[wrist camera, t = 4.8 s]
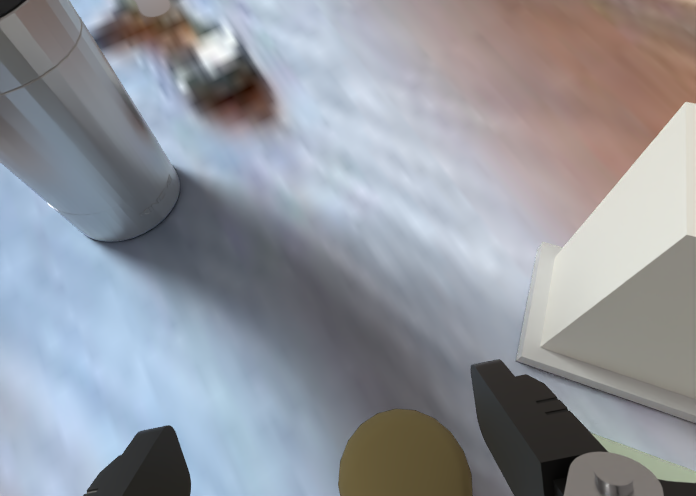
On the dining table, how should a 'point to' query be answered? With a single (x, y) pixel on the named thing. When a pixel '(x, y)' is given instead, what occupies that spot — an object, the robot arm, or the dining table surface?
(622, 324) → the housing
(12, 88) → the robot arm
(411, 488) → the cork
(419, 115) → the dining table surface
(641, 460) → the plate
